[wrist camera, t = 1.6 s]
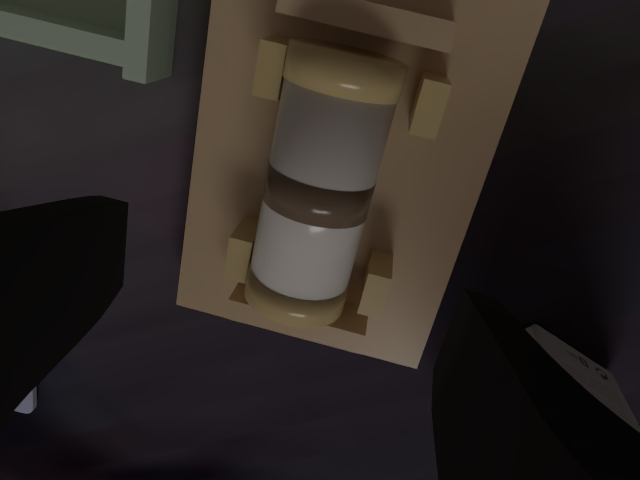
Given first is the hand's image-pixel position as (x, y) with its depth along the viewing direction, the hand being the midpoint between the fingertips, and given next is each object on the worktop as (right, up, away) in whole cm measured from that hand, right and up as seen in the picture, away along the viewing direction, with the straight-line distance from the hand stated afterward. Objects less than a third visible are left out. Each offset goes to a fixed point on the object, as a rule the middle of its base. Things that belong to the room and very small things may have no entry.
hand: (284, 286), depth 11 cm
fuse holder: (+1, +4, +9) cm, 10 cm away
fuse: (+1, +3, +7) cm, 8 cm away
